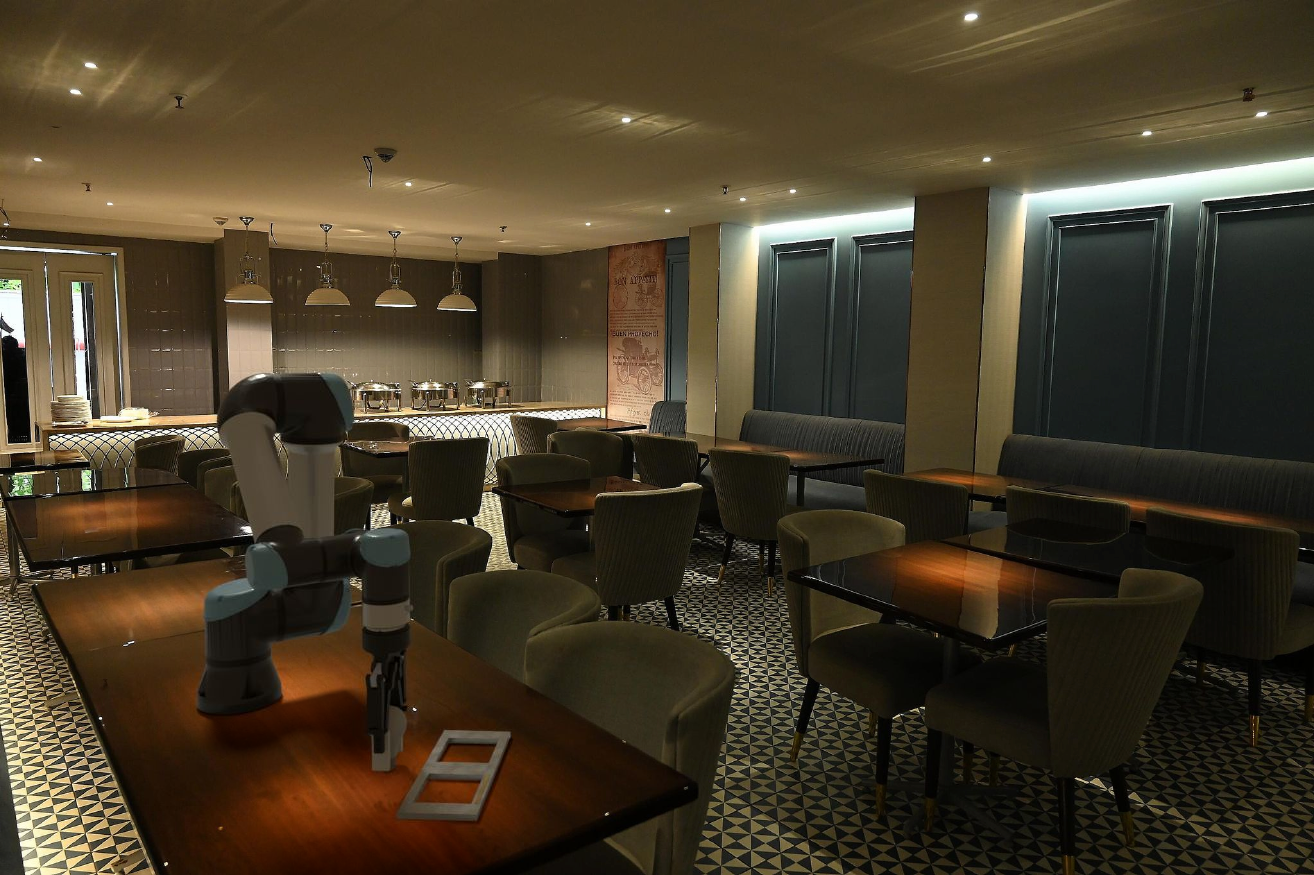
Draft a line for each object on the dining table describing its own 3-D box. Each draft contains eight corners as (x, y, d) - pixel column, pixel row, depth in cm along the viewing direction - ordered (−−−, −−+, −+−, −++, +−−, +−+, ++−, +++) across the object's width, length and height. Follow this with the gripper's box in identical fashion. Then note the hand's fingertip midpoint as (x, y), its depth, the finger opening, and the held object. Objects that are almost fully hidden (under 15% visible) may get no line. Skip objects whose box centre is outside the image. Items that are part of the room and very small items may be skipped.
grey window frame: (396, 818, 128) (396, 812, 128) (444, 735, 156) (444, 729, 156) (476, 820, 128) (476, 814, 128) (510, 736, 156) (510, 731, 156)
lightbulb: (373, 762, 146) (372, 699, 145) (410, 761, 146) (410, 699, 145) (364, 780, 140) (363, 714, 139) (402, 779, 140) (402, 714, 139)
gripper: (390, 644, 131) (392, 789, 133) (425, 607, 150) (426, 735, 152) (341, 643, 131) (344, 788, 133) (382, 606, 150) (383, 734, 152)
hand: (387, 759), depth 143 cm, fingers closed on lightbulb, 6 cm apart
